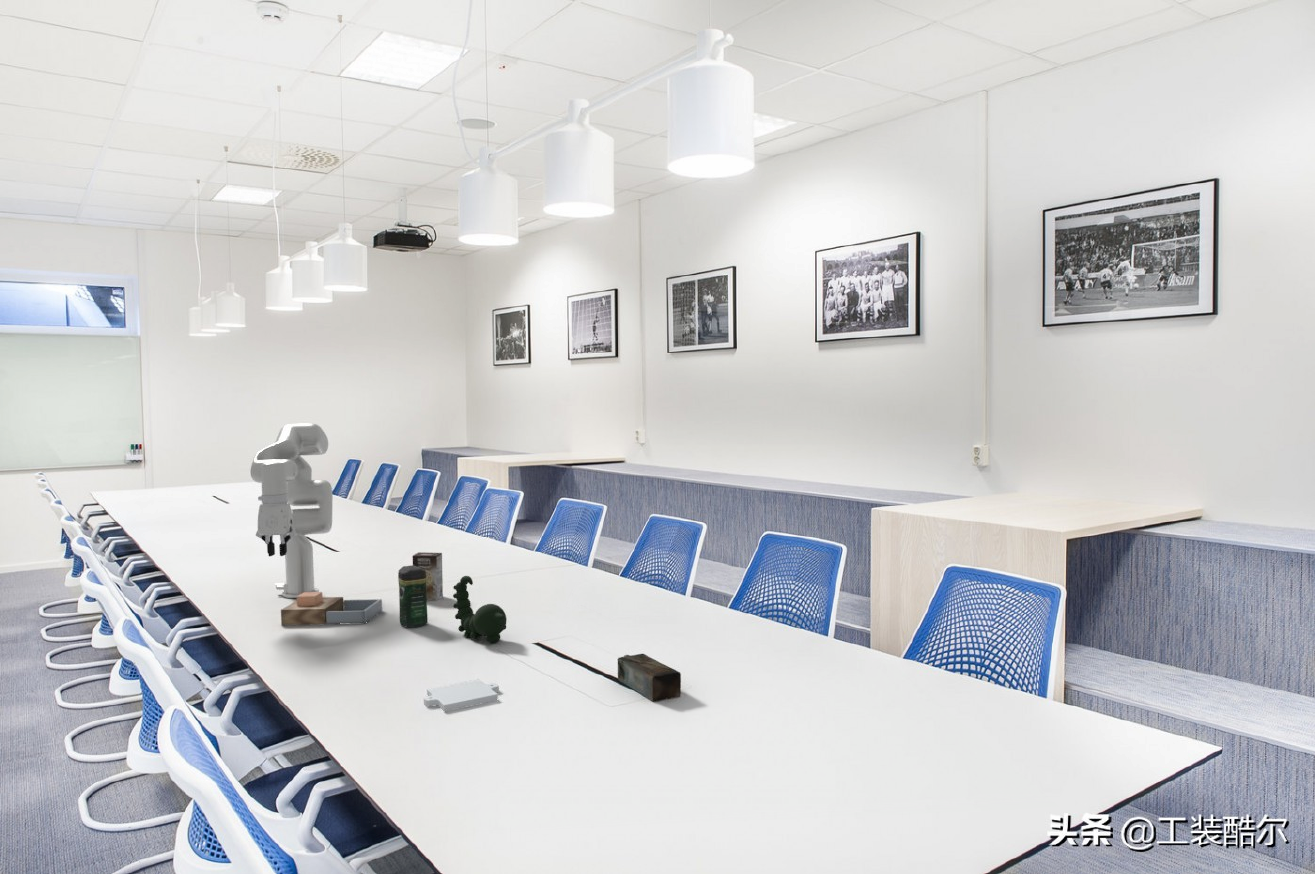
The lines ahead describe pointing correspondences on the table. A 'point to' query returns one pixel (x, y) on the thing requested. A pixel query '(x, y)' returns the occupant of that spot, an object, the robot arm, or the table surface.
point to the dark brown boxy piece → (649, 677)
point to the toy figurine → (478, 615)
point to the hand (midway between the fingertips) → (277, 554)
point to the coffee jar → (412, 596)
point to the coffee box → (431, 573)
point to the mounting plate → (461, 694)
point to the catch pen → (355, 611)
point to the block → (309, 598)
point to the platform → (310, 612)
